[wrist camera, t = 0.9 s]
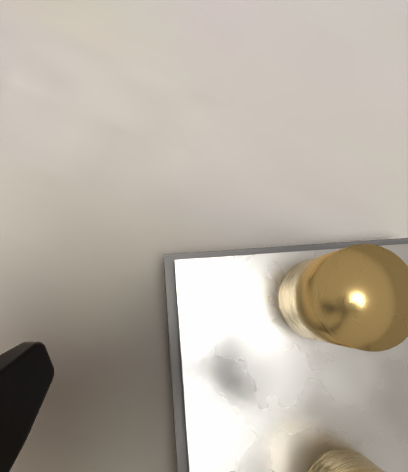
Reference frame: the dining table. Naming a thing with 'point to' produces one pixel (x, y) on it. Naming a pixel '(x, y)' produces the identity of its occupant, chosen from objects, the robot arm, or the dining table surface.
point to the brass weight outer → (348, 298)
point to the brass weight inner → (343, 462)
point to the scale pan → (278, 375)
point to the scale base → (174, 325)
